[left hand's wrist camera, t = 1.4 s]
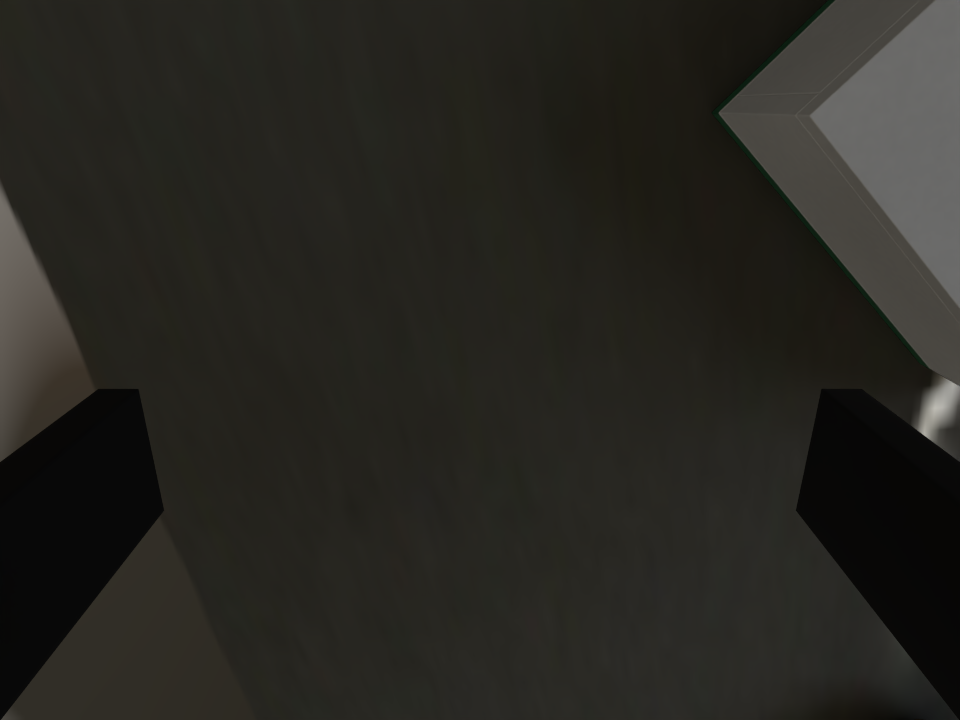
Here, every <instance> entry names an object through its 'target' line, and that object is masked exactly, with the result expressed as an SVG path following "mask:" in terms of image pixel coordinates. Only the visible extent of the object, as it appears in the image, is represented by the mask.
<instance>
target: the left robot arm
mask: <svg viewBox="0 0 960 720" xmlns="http://www.w3.org/2000/svg"><path fill="white" fill-rule="evenodd" d="M163 511H164V508H163V503H162V499H161V494H160V489H159V484H158V480H157V475H156V470H155V465H154V461H153V456H152V451H151V447H150V442H149V437H148V432H147V428H146V423H145V418H144V413H143V409H142V404H141V399H140V394H139V390H138V389H98V390H97V391H95V392H94V393H93V394H91V395H90V396H89V397H87V398H86V399H84V400H83V401H82V402H80V403H79V404H78V405H76V406H75V407H74V408H72V409H71V410H70V411H68V412H67V413H66V414H64V415H63V416H62V417H60V418H59V419H58V420H56V421H55V422H54V423H52V424H51V425H50V426H48V427H47V428H46V429H44V430H43V431H41V432H40V433H39V434H37V435H36V436H35V437H33V438H32V439H31V440H29V441H28V442H27V443H25V444H24V445H23V446H21V447H20V448H19V449H17V450H16V451H15V452H13V453H12V454H11V455H9V456H8V457H7V458H5V459H4V460H3V461H1V462H0V720H1V719H2V718H3V716H4V715H5V714H6V712H7V711H8V710H9V709H10V707H11V706H12V705H13V703H14V702H15V701H16V700H17V698H18V697H19V696H20V694H21V693H22V692H23V691H24V689H25V688H26V687H27V685H28V684H29V683H30V682H31V680H32V679H33V678H34V677H35V675H36V674H37V673H38V671H39V670H40V669H41V668H42V666H43V665H44V664H45V662H46V661H47V660H48V659H49V657H50V656H51V655H52V653H53V652H54V651H55V650H56V648H57V647H58V646H59V644H60V643H61V642H62V641H63V639H64V638H65V637H66V635H67V634H68V633H69V632H70V630H71V629H72V628H73V626H74V625H75V624H76V623H77V621H78V620H79V619H80V618H81V616H82V615H83V614H84V612H85V611H86V610H87V609H88V607H89V606H90V605H91V603H92V602H93V601H94V600H95V598H96V597H97V596H98V594H99V593H100V592H101V590H102V589H103V588H104V587H105V585H106V584H107V583H108V582H109V580H110V579H111V578H112V576H113V575H114V574H115V573H116V571H117V570H118V569H119V568H120V566H121V565H122V564H123V562H124V561H125V560H126V559H127V557H128V556H129V555H130V553H131V552H132V551H133V550H134V548H135V547H136V546H137V544H138V543H139V542H140V541H141V539H142V538H143V537H144V535H145V534H146V533H147V532H148V530H149V529H150V528H151V526H152V525H153V524H154V523H155V521H156V520H157V519H158V517H159V516H160V515H161V514H162V512H163ZM796 511H797V512H798V514H799V515H800V516H801V517H802V519H803V520H804V521H805V523H806V524H807V525H808V526H809V528H810V529H811V530H812V532H813V533H814V534H815V535H816V537H817V538H818V539H819V541H820V542H821V543H822V544H823V546H824V547H825V548H826V550H827V551H828V552H829V553H830V555H831V556H832V557H833V559H834V560H835V561H836V562H837V564H838V565H839V566H840V568H841V569H842V570H843V571H844V573H845V574H846V575H847V576H848V578H849V579H850V580H851V582H852V583H853V584H854V585H855V587H856V588H857V589H858V591H859V592H860V593H861V594H862V596H863V597H864V598H865V600H866V601H867V602H868V603H869V605H870V606H871V607H872V609H873V610H874V611H875V612H876V614H877V615H878V616H879V618H880V619H881V620H882V621H883V623H884V624H885V625H886V626H887V628H888V629H889V630H890V632H891V633H892V634H893V635H894V637H895V638H896V639H897V641H898V642H899V643H900V644H901V646H902V647H903V648H904V650H905V651H906V652H907V653H908V655H909V656H910V657H911V659H912V660H913V661H914V662H915V664H916V665H917V666H918V668H919V669H920V670H921V671H922V673H923V674H924V675H925V677H926V678H927V679H928V680H929V682H930V683H931V684H932V685H933V687H934V688H935V689H936V691H937V692H938V693H939V694H940V696H941V697H942V698H943V700H944V701H945V702H946V703H947V705H948V706H949V707H950V709H951V710H952V711H953V712H954V714H955V715H956V716H957V718H958V719H959V720H960V462H959V461H957V460H956V459H955V458H953V457H952V456H951V455H949V454H948V453H947V452H945V451H944V450H943V449H941V448H940V447H939V446H937V445H936V444H935V443H933V442H932V441H931V440H929V439H928V438H927V437H925V436H924V435H923V434H921V433H920V432H919V431H917V430H916V429H914V428H913V427H912V426H910V425H909V424H908V423H906V422H905V421H904V420H902V419H901V418H900V417H898V416H897V415H896V414H894V413H893V412H892V411H890V410H889V409H888V408H886V407H885V406H884V405H882V404H881V403H880V402H878V401H877V400H876V399H874V398H873V397H871V396H870V395H869V394H867V393H866V392H865V391H863V390H862V389H822V390H821V394H820V399H819V404H818V409H817V413H816V418H815V423H814V428H813V432H812V437H811V442H810V446H809V451H808V456H807V461H806V465H805V470H804V475H803V480H802V484H801V489H800V494H799V499H798V503H797V508H796Z"/></svg>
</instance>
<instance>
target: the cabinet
mask: <svg viewBox="0 0 960 720" xmlns="http://www.w3.org/2000/svg"><path fill="white" fill-rule="evenodd" d="M712 114H713V115H714V116H715V118H716V119H717V120H718V121H719V122H720V124H721V125H722V126H723V127H724V128H725V130H726V131H727V132H728V133H729V134H730V136H731V137H732V138H733V139H734V140H735V142H736V143H737V144H738V145H739V146H740V148H741V149H742V150H743V151H744V152H745V154H746V155H747V156H748V157H749V158H750V160H751V161H752V162H753V163H754V164H755V166H756V167H757V168H758V169H759V171H760V172H761V173H762V174H763V175H764V177H765V178H766V179H767V180H768V181H769V183H770V184H771V185H772V186H773V187H774V189H775V190H776V191H777V192H778V193H779V195H780V196H781V197H782V198H783V199H784V201H785V202H786V203H787V204H788V205H789V207H790V208H791V209H792V210H793V211H794V213H795V214H796V215H797V216H798V217H799V219H800V220H801V221H802V222H803V223H804V225H805V226H806V227H807V228H808V229H809V231H810V232H811V233H812V234H813V235H814V237H815V238H816V239H817V240H818V242H819V243H820V244H821V245H822V246H823V248H824V249H825V250H826V251H827V252H828V254H829V255H830V256H831V257H832V258H833V260H834V261H835V262H836V263H837V264H838V266H839V267H840V268H841V269H842V270H843V272H844V273H845V274H846V275H847V276H848V278H849V279H850V280H851V281H852V282H853V284H854V285H855V286H856V287H857V288H858V290H859V291H860V292H861V293H862V294H863V296H864V297H865V298H866V299H867V300H868V302H869V303H870V304H871V305H872V306H873V308H874V309H875V310H876V311H877V312H878V314H879V315H880V316H881V317H882V319H883V320H884V321H885V322H886V323H887V325H888V326H889V327H890V328H891V329H892V331H893V332H894V333H895V334H896V335H897V337H898V338H899V339H900V340H901V341H902V343H903V344H904V345H905V346H906V347H907V349H908V350H909V351H910V352H911V353H912V355H913V356H914V357H915V358H916V359H917V361H918V362H919V363H920V364H922V365H923V366H925V367H927V368H928V369H932V370H933V371H935V372H936V373H938V374H940V375H941V376H943V377H945V378H947V379H948V380H950V381H952V382H953V383H955V384H957V385H959V386H960V0H828V1H827V2H826V3H825V4H824V5H823V6H822V7H821V8H820V9H819V10H818V11H817V12H816V13H815V14H814V15H812V16H811V17H810V18H809V19H808V20H807V21H806V22H805V23H804V24H803V25H802V26H801V27H800V28H799V29H798V30H797V31H796V32H795V33H794V34H793V35H792V36H791V37H790V38H789V39H788V40H787V41H786V42H784V43H783V44H782V45H781V46H780V47H779V48H778V49H777V50H776V51H775V52H774V53H773V54H772V55H771V56H770V57H769V58H768V59H767V60H766V61H765V62H764V63H763V64H762V65H761V66H760V67H759V68H758V69H756V70H755V71H754V72H753V73H752V74H751V75H750V76H749V77H748V78H747V79H746V80H745V81H744V82H743V83H742V84H741V85H740V86H739V87H738V88H737V89H736V90H735V91H734V92H733V93H732V94H731V95H730V96H728V97H727V98H726V99H725V100H724V101H723V102H722V103H721V104H720V105H719V106H718V107H717V108H716V109H715V110H714V111H713V112H712Z"/></svg>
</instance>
